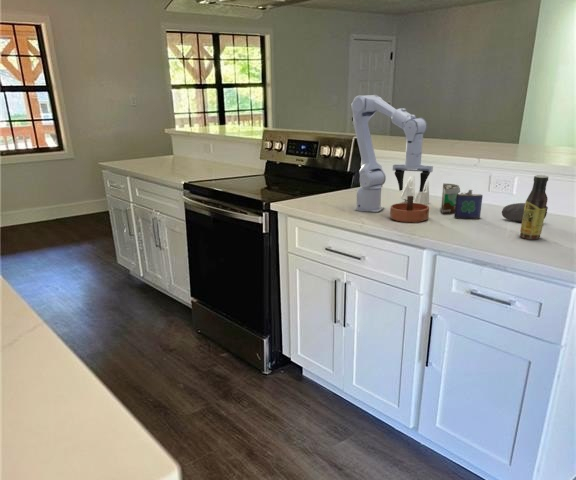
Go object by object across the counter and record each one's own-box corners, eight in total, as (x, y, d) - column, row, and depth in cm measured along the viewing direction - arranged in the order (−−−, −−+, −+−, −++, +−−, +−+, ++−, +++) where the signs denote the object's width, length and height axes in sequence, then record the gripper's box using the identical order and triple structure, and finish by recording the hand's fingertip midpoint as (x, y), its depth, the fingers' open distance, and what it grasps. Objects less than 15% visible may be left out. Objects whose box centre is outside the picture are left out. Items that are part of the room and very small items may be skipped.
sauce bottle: (515, 235, 167) (525, 174, 159) (533, 234, 167) (544, 173, 160) (525, 241, 161) (536, 177, 153) (544, 240, 161) (556, 177, 154)
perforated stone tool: (498, 220, 186) (501, 201, 183) (503, 217, 189) (505, 199, 187) (541, 226, 177) (545, 206, 174) (546, 223, 180) (549, 203, 178)
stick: (405, 217, 192) (406, 196, 189) (407, 216, 194) (408, 195, 191) (411, 218, 191) (412, 196, 188) (412, 216, 193) (414, 195, 190)
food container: (459, 215, 195) (462, 189, 191) (443, 214, 196) (445, 188, 192) (456, 208, 206) (459, 183, 202) (440, 207, 207) (443, 183, 203)
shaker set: (399, 202, 220) (401, 176, 215) (404, 200, 223) (406, 174, 218) (424, 205, 212) (427, 178, 208) (429, 203, 215) (431, 177, 211)
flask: (479, 217, 190) (483, 189, 186) (480, 219, 188) (483, 190, 184) (454, 216, 193) (457, 188, 189) (454, 218, 190) (457, 190, 186)
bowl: (385, 221, 190) (385, 209, 188) (396, 212, 201) (396, 201, 200) (423, 224, 184) (424, 212, 182) (431, 215, 195) (432, 204, 193)
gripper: (436, 152, 184) (432, 190, 190) (397, 151, 191) (395, 187, 196) (431, 155, 179) (428, 193, 184) (391, 153, 185) (389, 191, 190)
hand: (410, 190), depth 190 cm, fingers open, 7 cm apart
